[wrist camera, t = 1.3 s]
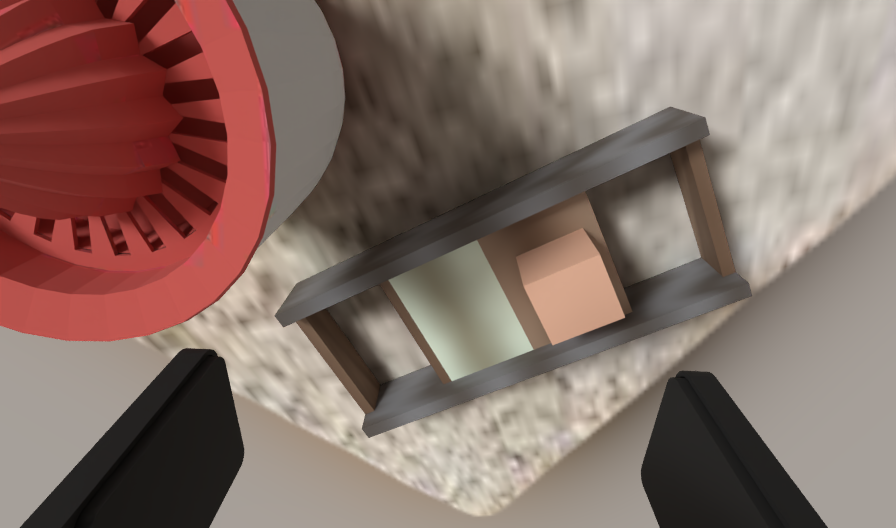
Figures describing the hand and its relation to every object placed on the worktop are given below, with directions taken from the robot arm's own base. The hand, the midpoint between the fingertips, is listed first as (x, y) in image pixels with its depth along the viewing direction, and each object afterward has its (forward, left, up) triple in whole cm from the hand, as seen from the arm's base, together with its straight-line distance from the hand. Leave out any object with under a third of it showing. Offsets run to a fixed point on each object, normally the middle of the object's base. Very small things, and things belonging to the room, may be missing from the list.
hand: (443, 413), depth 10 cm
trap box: (+1, +9, -23) cm, 24 cm away
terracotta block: (-3, +9, -20) cm, 22 cm away
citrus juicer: (+9, -11, -23) cm, 27 cm away
